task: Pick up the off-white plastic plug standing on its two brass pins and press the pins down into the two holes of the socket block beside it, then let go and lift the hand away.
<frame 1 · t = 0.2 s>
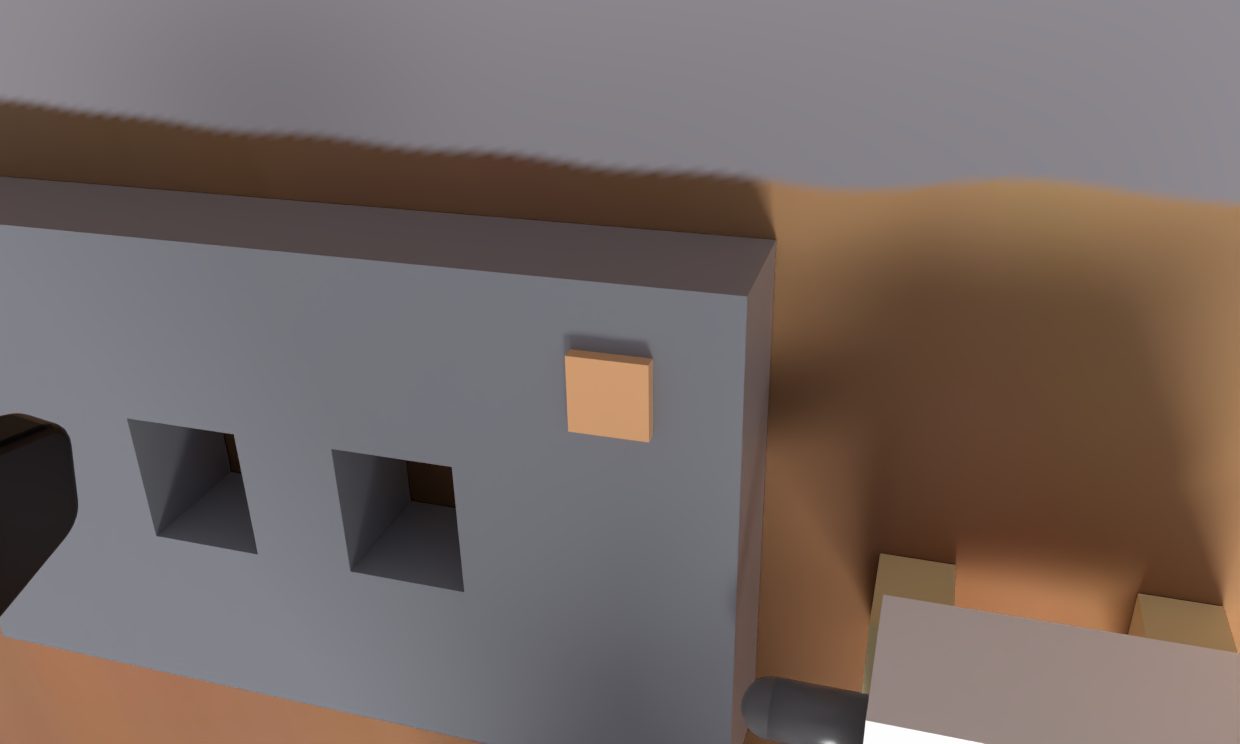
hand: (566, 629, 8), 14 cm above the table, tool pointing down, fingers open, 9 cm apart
plug: (1037, 616, 23), on the table
socket: (359, 438, 27), on the table
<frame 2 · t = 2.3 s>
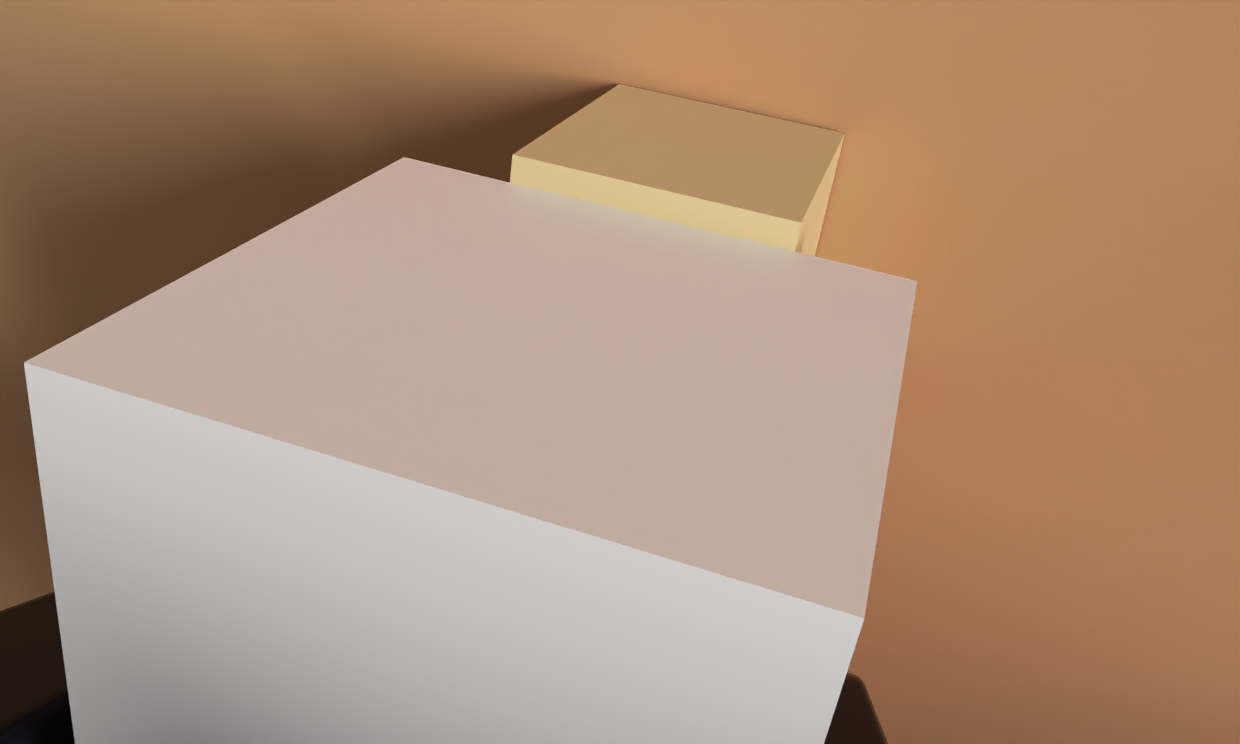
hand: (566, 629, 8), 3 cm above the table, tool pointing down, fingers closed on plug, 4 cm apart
plug: (666, 441, 11), on the table, touching gripper
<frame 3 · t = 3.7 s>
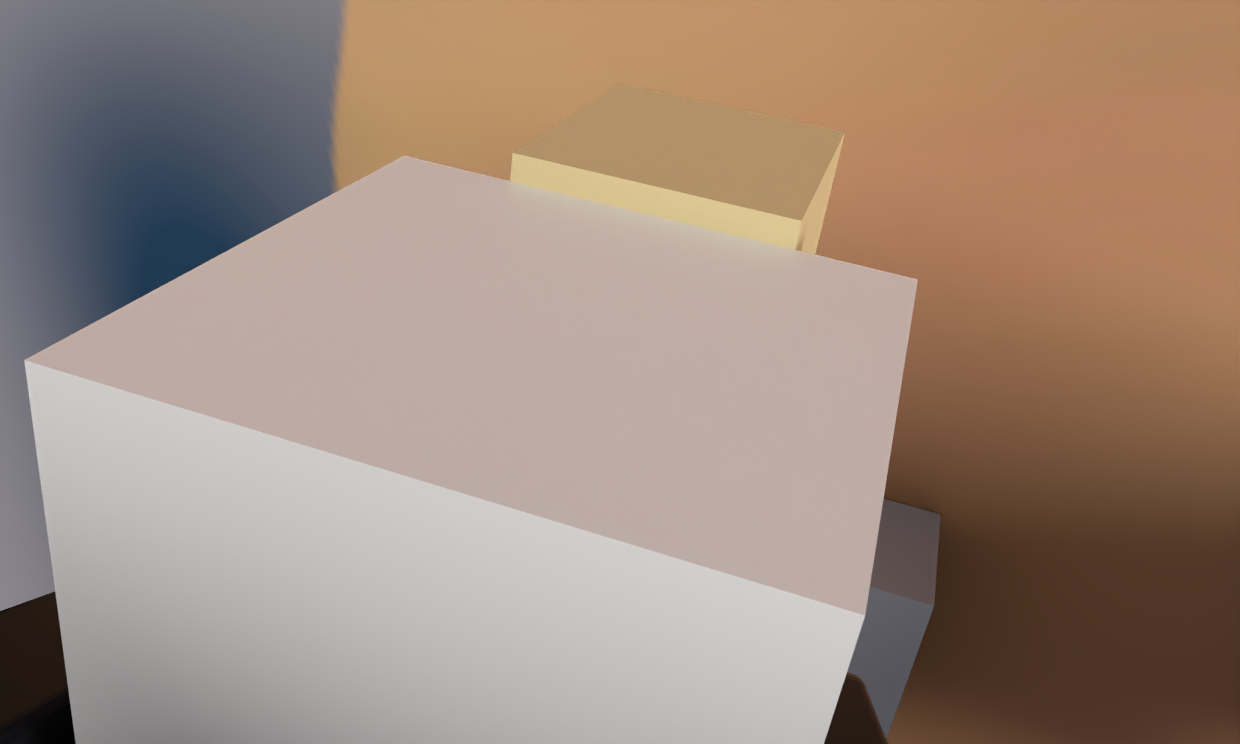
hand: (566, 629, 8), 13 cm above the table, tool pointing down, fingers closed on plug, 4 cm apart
plug: (666, 440, 11), point 10 cm above the table, touching gripper
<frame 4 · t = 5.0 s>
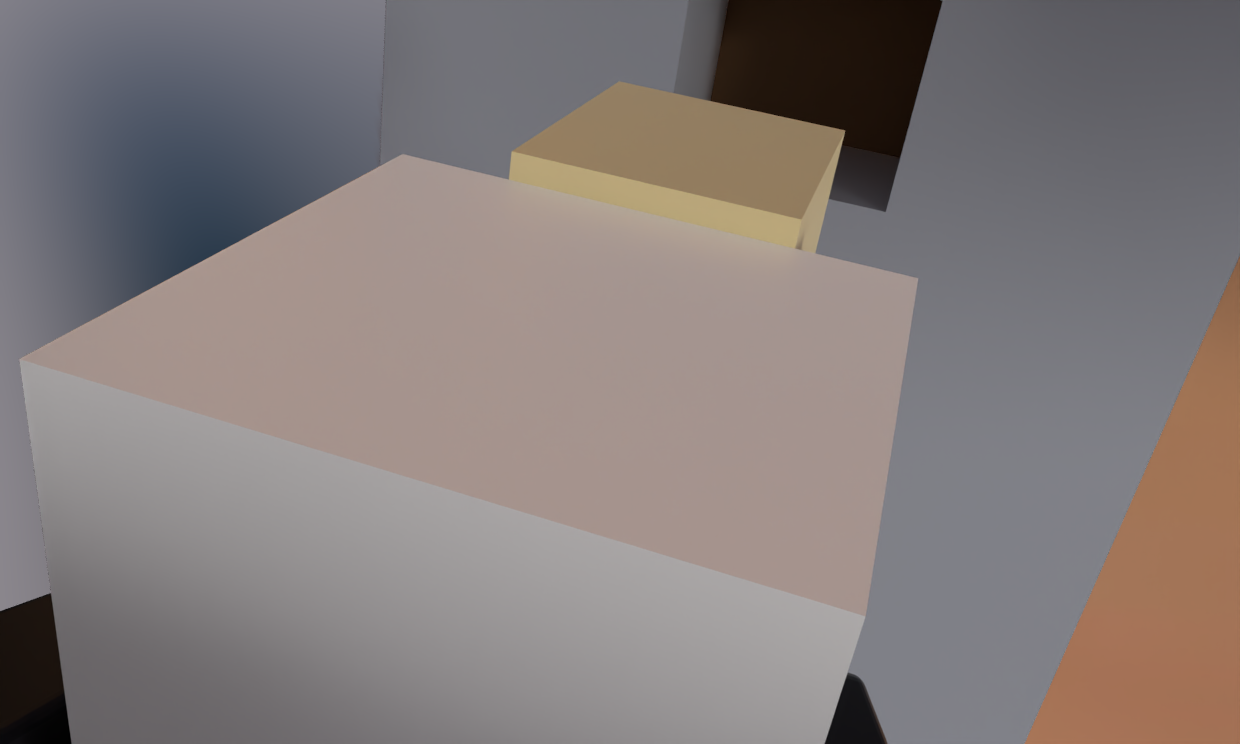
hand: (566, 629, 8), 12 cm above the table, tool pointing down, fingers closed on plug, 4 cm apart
plug: (666, 439, 11), point 9 cm above the table, touching gripper
socket: (786, 205, 18), on the table
when the fingers open (3 cm above the table, at t = 7.6 s): plug stays where it is, resting on socket.
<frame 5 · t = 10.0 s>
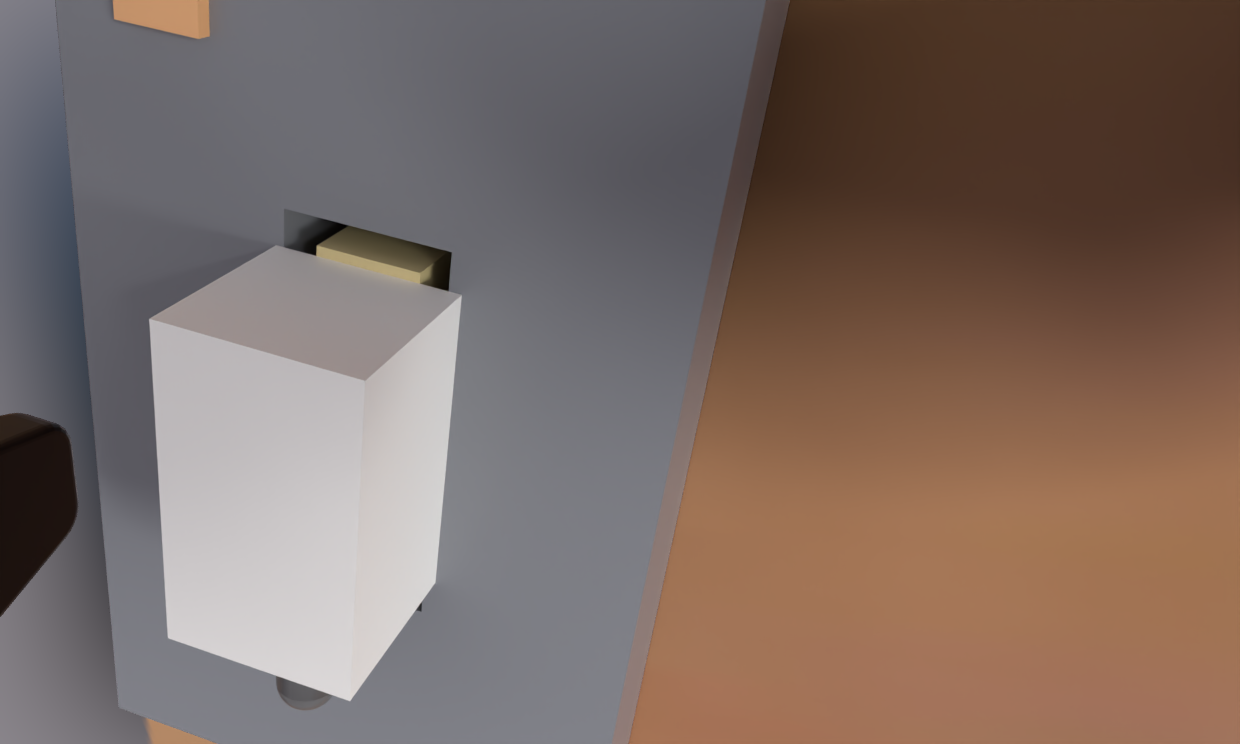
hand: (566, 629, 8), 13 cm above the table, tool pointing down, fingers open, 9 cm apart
plug: (417, 368, 23), resting on socket
socket: (425, 361, 23), on the table
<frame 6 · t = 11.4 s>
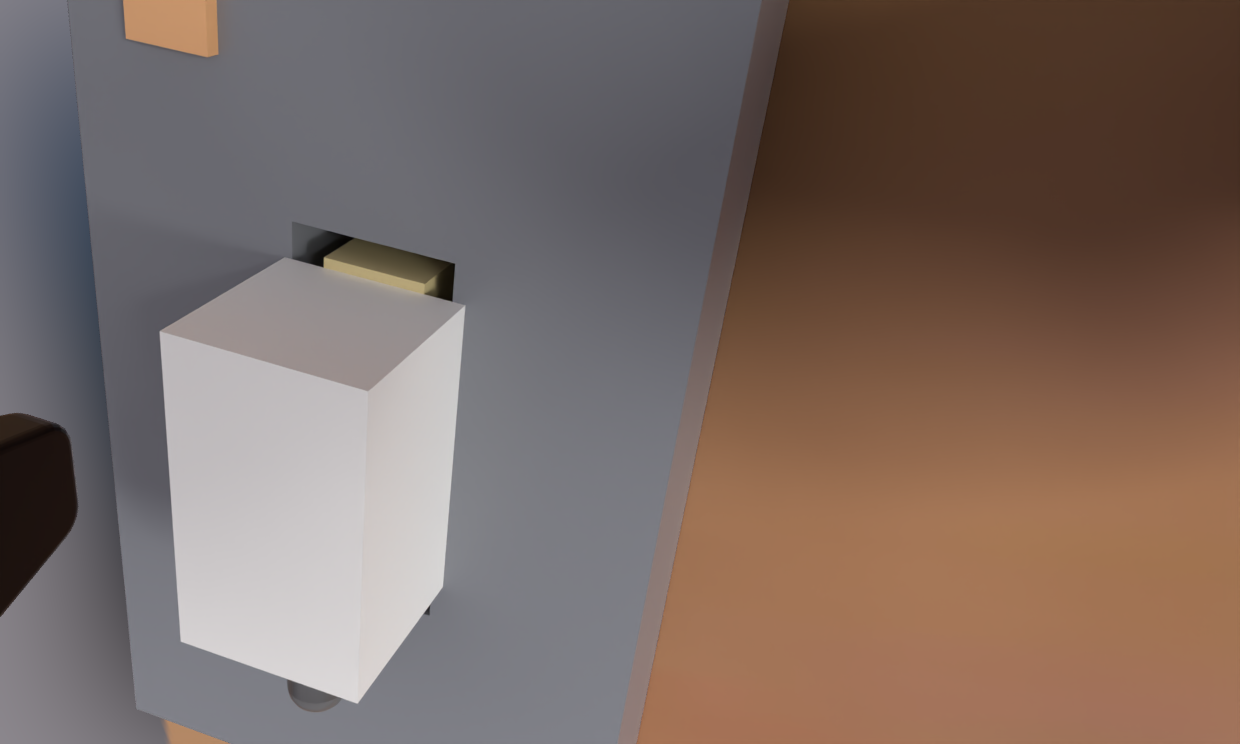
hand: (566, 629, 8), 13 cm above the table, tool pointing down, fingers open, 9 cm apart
plug: (425, 376, 23), resting on socket
socket: (433, 368, 24), on the table
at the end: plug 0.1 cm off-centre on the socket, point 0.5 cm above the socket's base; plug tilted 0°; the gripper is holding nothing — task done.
